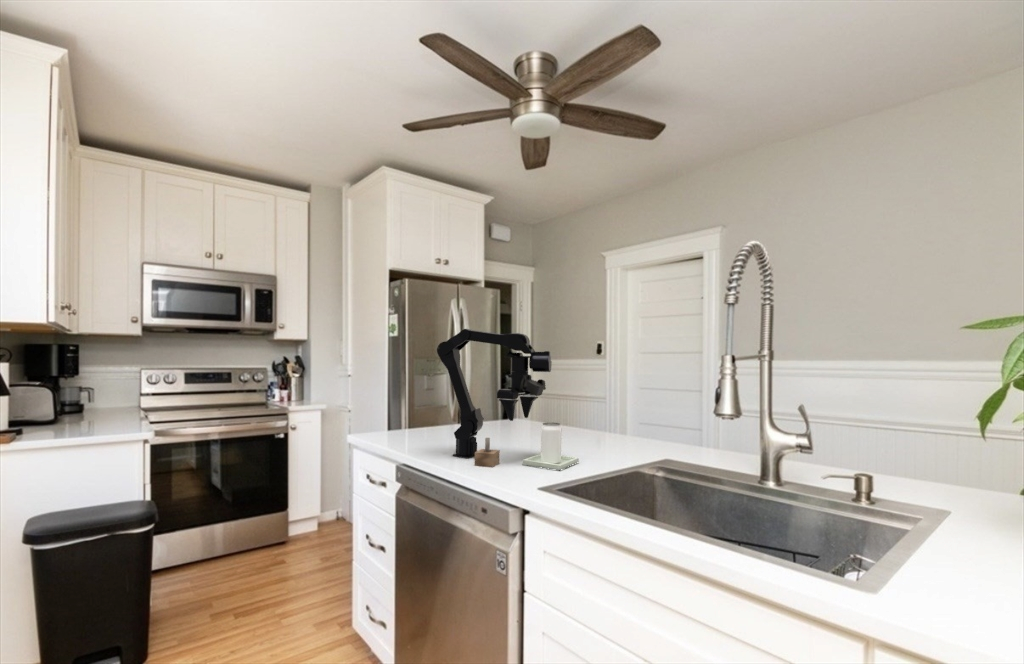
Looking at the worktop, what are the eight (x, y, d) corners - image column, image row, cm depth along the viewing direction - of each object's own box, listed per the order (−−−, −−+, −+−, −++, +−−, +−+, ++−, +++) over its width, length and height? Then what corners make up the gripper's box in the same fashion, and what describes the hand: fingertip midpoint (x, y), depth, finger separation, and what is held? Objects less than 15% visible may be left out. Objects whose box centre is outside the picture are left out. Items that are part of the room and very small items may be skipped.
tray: (522, 465, 151) (522, 459, 151) (542, 457, 162) (542, 453, 162) (560, 471, 144) (560, 465, 144) (578, 463, 155) (578, 458, 155)
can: (548, 458, 158) (549, 421, 158) (565, 462, 153) (565, 423, 154) (536, 462, 153) (536, 423, 153) (553, 465, 149) (553, 425, 149)
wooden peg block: (474, 465, 150) (475, 438, 150) (481, 461, 155) (482, 435, 156) (492, 467, 148) (493, 440, 148) (499, 463, 153) (499, 437, 154)
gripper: (526, 373, 149) (525, 424, 148) (554, 371, 164) (554, 418, 164) (495, 371, 154) (495, 421, 154) (526, 370, 170) (525, 415, 170)
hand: (519, 419), depth 160 cm, fingers open, 9 cm apart
